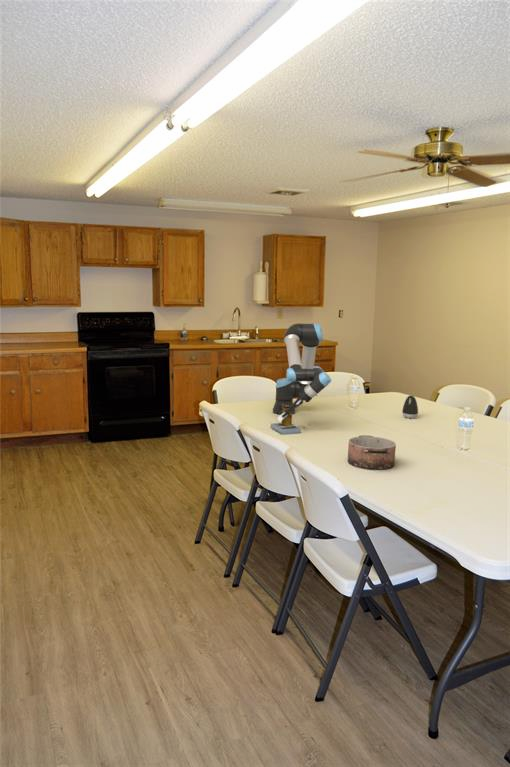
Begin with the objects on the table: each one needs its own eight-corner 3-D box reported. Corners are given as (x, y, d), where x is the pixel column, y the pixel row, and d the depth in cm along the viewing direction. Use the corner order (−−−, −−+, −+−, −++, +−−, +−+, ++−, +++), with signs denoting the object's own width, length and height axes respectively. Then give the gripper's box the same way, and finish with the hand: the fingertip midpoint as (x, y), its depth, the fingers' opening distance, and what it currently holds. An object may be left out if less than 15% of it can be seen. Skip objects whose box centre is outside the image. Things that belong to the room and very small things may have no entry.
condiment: (294, 426, 340) (295, 406, 338) (283, 427, 336) (283, 407, 334) (287, 423, 346) (287, 403, 344) (275, 425, 342) (276, 405, 340)
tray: (288, 427, 352) (288, 422, 351) (300, 433, 337) (300, 428, 336) (270, 428, 347) (270, 423, 347) (281, 434, 332) (281, 429, 332)
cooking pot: (342, 454, 295) (343, 434, 294) (385, 455, 296) (387, 434, 294) (354, 472, 266) (355, 450, 264) (402, 473, 266) (403, 450, 265)
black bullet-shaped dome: (416, 416, 391) (417, 394, 389) (418, 419, 381) (420, 397, 379) (400, 415, 392) (402, 393, 390) (403, 419, 382) (404, 396, 380)
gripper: (310, 401, 326) (281, 427, 332) (314, 395, 344) (286, 420, 351) (301, 391, 326) (272, 417, 333) (306, 386, 345) (278, 411, 351)
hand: (279, 419), depth 342 cm, fingers closed on condiment, 6 cm apart
